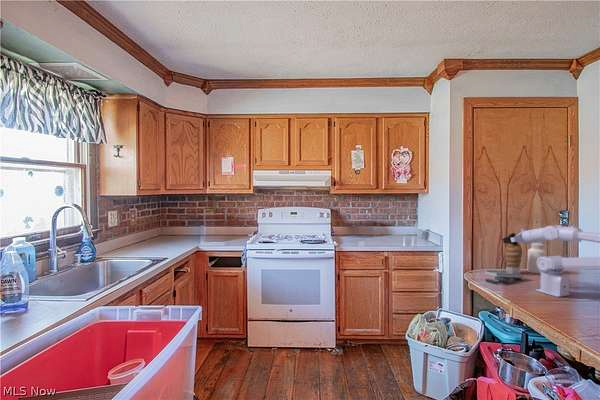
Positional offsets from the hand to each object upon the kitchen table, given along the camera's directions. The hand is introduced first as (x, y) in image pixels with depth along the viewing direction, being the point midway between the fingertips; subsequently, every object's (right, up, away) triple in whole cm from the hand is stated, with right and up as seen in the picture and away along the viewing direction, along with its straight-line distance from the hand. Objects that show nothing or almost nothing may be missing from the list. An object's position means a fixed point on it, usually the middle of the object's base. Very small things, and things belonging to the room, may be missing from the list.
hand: (509, 239), depth 165 cm
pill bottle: (+24, -19, +16) cm, 34 cm away
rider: (+1, -17, +1) cm, 17 cm away
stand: (-4, -20, -1) cm, 20 cm away
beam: (-4, -17, -2) cm, 18 cm away
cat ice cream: (+10, -19, +14) cm, 26 cm away
